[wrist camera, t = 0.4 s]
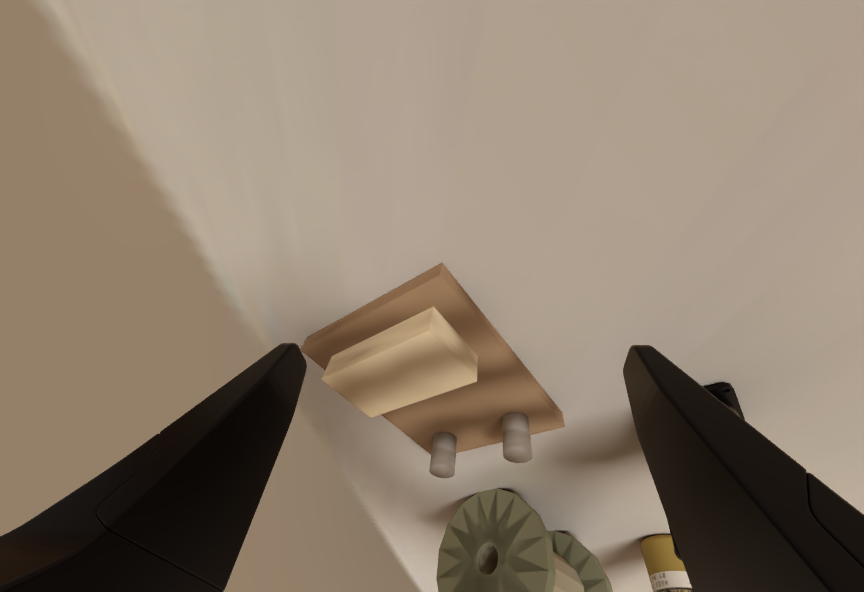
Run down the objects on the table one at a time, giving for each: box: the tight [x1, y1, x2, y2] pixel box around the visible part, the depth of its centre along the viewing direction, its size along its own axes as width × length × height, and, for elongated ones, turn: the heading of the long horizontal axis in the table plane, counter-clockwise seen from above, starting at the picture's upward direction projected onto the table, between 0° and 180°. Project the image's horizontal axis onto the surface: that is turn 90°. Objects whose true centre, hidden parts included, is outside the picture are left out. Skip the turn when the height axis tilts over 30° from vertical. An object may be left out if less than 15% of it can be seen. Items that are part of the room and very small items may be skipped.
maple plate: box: [321, 306, 478, 418], centre depth 27 cm, size 6×11×2 cm, turn 126°
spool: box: [437, 488, 613, 592], centre depth 43 cm, size 16×15×15 cm
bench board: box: [300, 263, 565, 478], centre depth 30 cm, size 20×15×5 cm
